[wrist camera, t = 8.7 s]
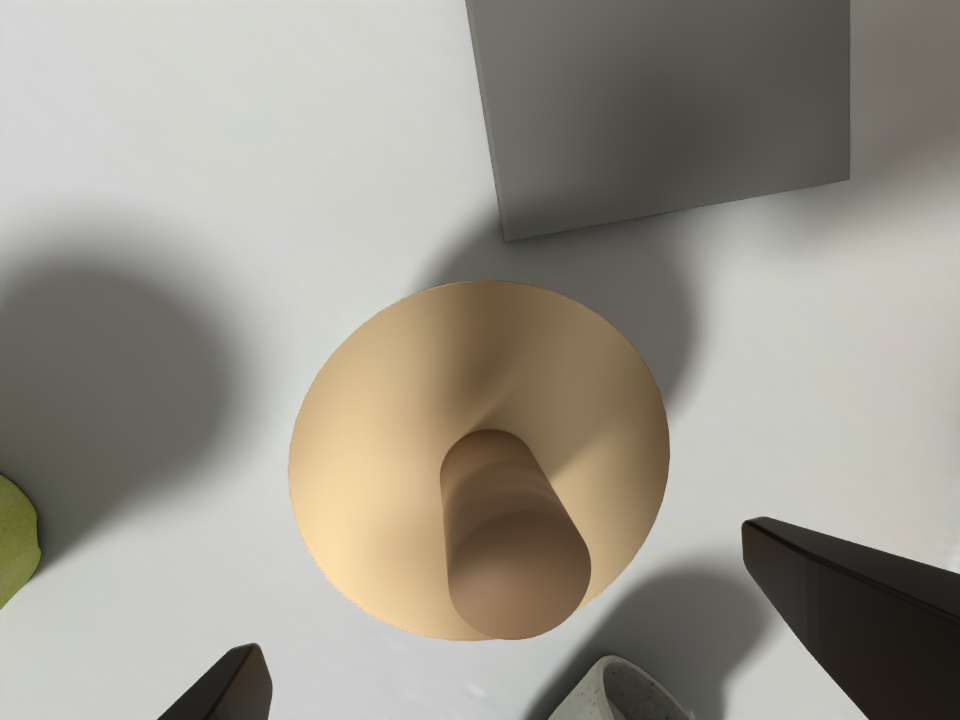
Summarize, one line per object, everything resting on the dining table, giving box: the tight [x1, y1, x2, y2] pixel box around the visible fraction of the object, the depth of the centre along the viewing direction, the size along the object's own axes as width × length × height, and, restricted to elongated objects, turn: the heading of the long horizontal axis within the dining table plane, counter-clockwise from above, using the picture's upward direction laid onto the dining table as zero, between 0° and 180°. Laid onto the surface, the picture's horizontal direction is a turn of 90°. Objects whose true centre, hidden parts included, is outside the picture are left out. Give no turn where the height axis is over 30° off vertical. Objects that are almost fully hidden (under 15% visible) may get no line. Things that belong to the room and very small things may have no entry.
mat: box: [465, 0, 850, 242], centre depth 15 cm, size 13×13×1 cm
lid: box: [288, 280, 670, 641], centre depth 11 cm, size 11×11×5 cm
